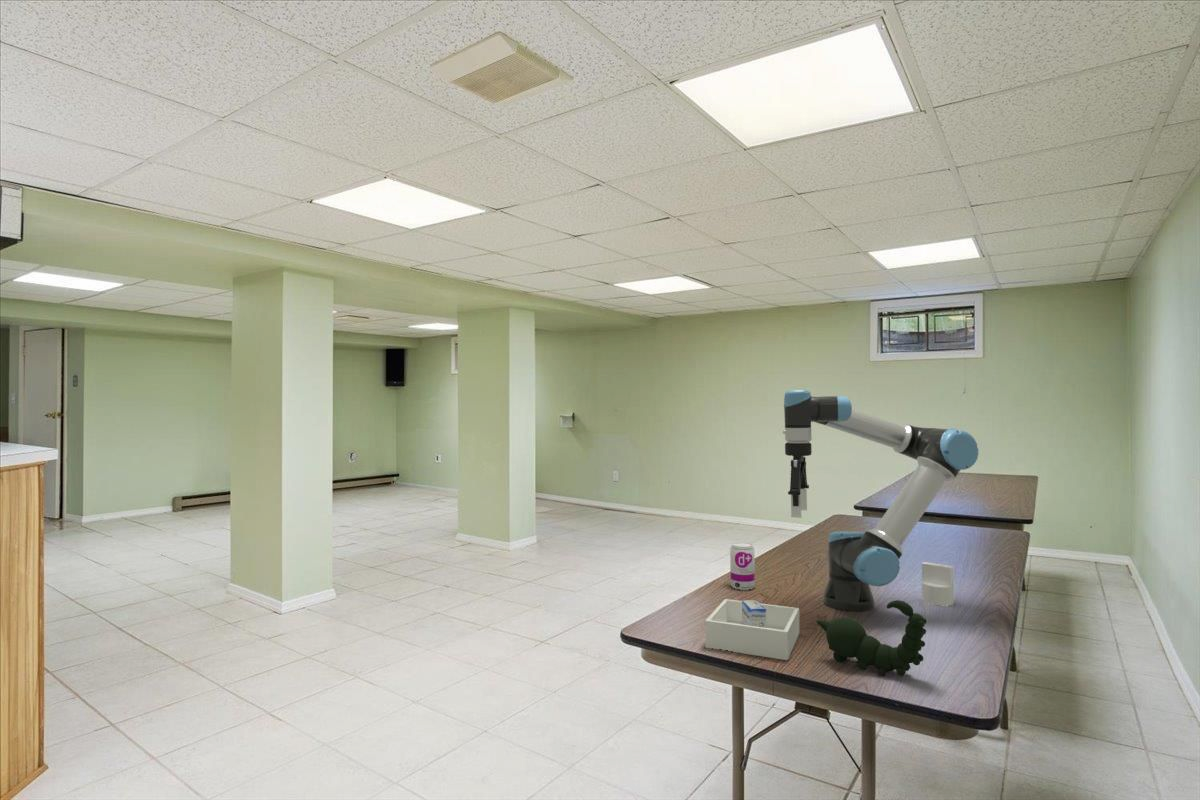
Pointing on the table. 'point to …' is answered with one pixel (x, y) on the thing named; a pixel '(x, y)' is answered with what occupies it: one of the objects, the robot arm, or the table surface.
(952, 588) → the cylinder with rectangular tab
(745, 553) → the supplement can
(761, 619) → the medicine box
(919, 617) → the toy figurine
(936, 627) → the table surface
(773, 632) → the open bin
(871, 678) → the table surface
